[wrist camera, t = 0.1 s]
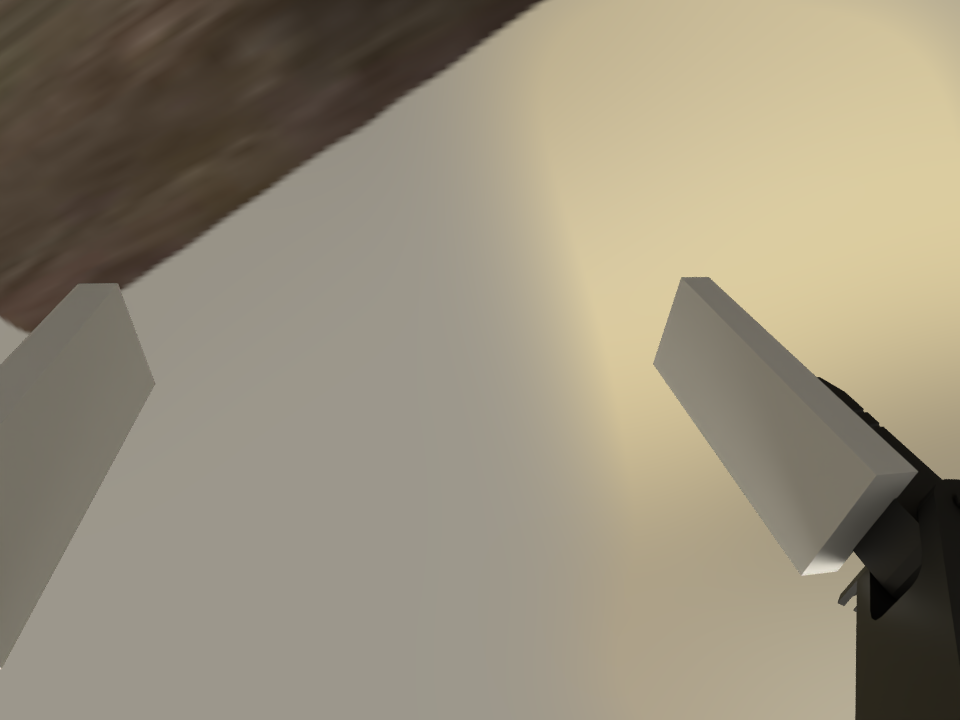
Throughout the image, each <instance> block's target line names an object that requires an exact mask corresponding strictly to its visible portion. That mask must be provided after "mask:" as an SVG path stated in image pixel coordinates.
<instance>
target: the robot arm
mask: <svg viewBox="0 0 960 720" xmlns="http://www.w3.org/2000/svg"><path fill="white" fill-rule="evenodd" d="M653 364H654V366H655V367H656V369H657V370H658V371H659V373H660V374H661V376H662V377H663V379H664V380H665V382H666V383H667V384H668V386H669V387H670V389H671V390H672V392H673V393H674V394H675V396H676V397H677V399H678V400H679V401H680V403H681V405H682V406H683V407H684V409H685V410H686V412H687V413H688V414H689V416H690V417H691V419H692V420H693V422H694V423H695V424H696V426H697V427H698V429H699V430H700V432H701V433H702V434H703V436H704V437H705V439H706V440H707V442H708V443H709V445H710V446H711V447H712V449H713V450H714V452H715V453H716V455H717V456H718V457H719V459H720V460H721V462H722V463H723V465H724V466H725V467H726V469H727V470H728V472H729V473H730V475H731V476H732V477H733V479H734V480H735V482H736V483H737V484H738V486H739V487H740V489H741V490H742V492H743V493H744V495H745V496H746V497H747V499H748V500H749V502H750V503H751V504H752V506H753V507H754V509H755V510H756V512H757V513H758V514H759V516H760V517H761V519H762V520H763V522H764V523H765V525H766V526H767V527H768V529H769V530H770V532H771V533H772V535H773V536H774V538H775V539H776V540H777V542H778V543H779V545H780V546H781V548H782V549H783V550H784V551H785V553H786V555H787V556H788V558H789V559H790V560H791V562H792V563H793V565H794V566H795V567H796V569H797V570H798V572H799V573H800V575H810V574H819V573H828V572H836V571H837V570H839V568H840V567H841V566H842V565H843V563H844V562H845V561H846V560H847V559H848V557H849V556H850V555H851V554H852V552H853V551H854V552H855V553H856V555H857V556H858V557H859V558H860V560H861V561H862V562H863V563H864V565H865V567H864V568H863V569H862V570H861V571H860V572H859V574H858V575H857V576H856V577H855V578H854V579H853V581H852V582H851V583H850V584H849V585H848V586H847V588H846V589H845V590H844V591H843V592H842V593H841V595H840V597H839V600H838V603H839V604H841V605H843V606H845V604H846V603H847V602H848V601H849V600H850V599H851V597H852V596H855V595H857V606H856V607H855V608H854V611H855V612H857V625H856V627H857V628H856V634H857V635H856V716H855V720H960V480H957V479H956V480H955V479H954V480H953V479H951V480H950V479H944V480H942V479H941V478H940V477H939V476H937V475H936V474H935V473H934V472H933V471H932V470H931V469H930V468H929V467H927V466H926V465H925V464H924V463H923V462H922V461H921V460H920V459H919V458H917V457H916V456H915V455H914V454H913V453H912V452H911V451H910V450H909V449H907V448H906V447H905V446H904V445H903V444H902V443H901V442H900V441H899V440H897V439H896V438H895V437H894V436H893V435H892V434H891V433H890V432H888V430H886V429H885V428H884V427H880V426H879V422H878V421H876V420H875V419H874V418H873V417H872V416H871V415H870V414H869V413H868V412H864V411H863V408H862V407H861V406H859V404H858V403H857V402H855V401H854V400H853V399H852V398H851V397H850V396H849V395H848V394H846V393H845V392H844V391H842V390H841V389H839V388H837V387H836V386H834V385H832V384H831V383H829V382H827V381H825V380H824V379H822V378H820V377H816V376H815V375H814V374H812V373H811V372H810V371H809V370H808V369H807V368H806V367H805V366H804V365H803V364H802V363H801V362H799V360H797V359H796V358H795V357H794V356H793V355H792V354H791V353H790V352H789V351H788V350H786V348H784V347H783V346H782V345H781V344H780V343H779V342H778V341H777V340H776V339H775V338H774V337H773V336H772V335H770V334H769V333H768V332H767V331H766V330H765V329H764V328H763V327H762V326H761V325H760V324H759V323H758V322H756V321H755V320H754V319H753V318H752V317H751V316H750V315H749V314H748V313H746V311H745V310H743V309H742V308H741V307H740V306H739V305H738V304H737V303H736V302H735V301H734V300H733V299H732V298H731V297H729V296H728V295H727V294H726V293H725V292H724V291H723V290H722V289H721V288H720V287H719V286H718V285H716V284H715V283H714V282H713V281H712V280H711V279H710V278H709V277H686V278H685V277H682V278H681V280H680V283H679V286H678V290H677V292H676V296H675V299H674V302H673V305H672V308H671V311H670V314H669V317H668V320H667V323H666V326H665V329H664V333H663V335H662V338H661V341H660V345H659V348H658V351H657V354H656V357H655V360H654V363H653ZM154 385H155V381H154V379H153V376H152V374H151V371H150V368H149V365H148V363H147V360H146V357H145V355H144V352H143V349H142V347H141V344H140V341H139V339H138V336H137V334H136V331H135V328H134V325H133V323H132V320H131V317H130V315H129V312H128V310H127V307H126V304H125V301H124V299H123V296H122V293H121V291H120V288H119V285H118V283H110V284H77V286H76V287H75V288H74V289H73V290H72V291H71V292H70V293H69V294H68V295H67V296H66V297H65V298H64V299H63V300H62V301H61V302H60V303H59V304H58V305H57V306H56V307H55V308H54V310H53V311H52V312H51V313H50V314H49V315H48V316H47V317H46V318H45V319H44V320H43V321H42V322H41V323H40V324H39V325H38V326H37V327H36V328H35V329H34V330H33V331H32V332H31V334H30V335H29V336H28V337H27V338H26V339H25V340H24V341H23V342H22V343H21V344H20V345H19V346H18V347H17V348H16V349H15V350H14V351H13V352H12V354H10V355H9V357H8V358H7V359H6V360H5V361H4V362H3V363H2V364H1V365H0V669H2V667H3V665H4V663H5V661H6V659H7V658H8V656H9V654H10V652H11V650H12V648H13V647H14V645H15V643H16V641H17V639H18V637H19V635H20V634H21V632H22V630H23V628H24V626H25V624H26V622H27V621H28V619H29V617H30V615H31V613H32V611H33V609H34V608H35V606H36V604H37V602H38V600H39V598H40V596H41V594H42V593H43V591H44V589H45V587H46V585H47V584H48V582H49V580H50V578H51V576H52V574H53V572H54V571H55V569H56V567H57V565H58V563H59V561H60V559H61V558H62V556H63V554H64V552H65V550H66V548H67V546H68V545H69V543H70V541H71V539H72V537H73V535H74V534H75V532H76V530H77V528H78V526H79V524H80V522H81V520H82V519H83V517H84V515H85V513H86V511H87V509H88V508H89V506H90V504H91V502H92V500H93V498H94V496H95V495H96V493H97V491H98V489H99V487H100V485H101V483H102V481H103V480H104V478H105V476H106V474H107V472H108V470H109V469H110V467H111V465H112V463H113V461H114V459H115V458H116V456H117V454H118V452H119V450H120V448H121V446H122V445H123V443H124V441H125V439H126V437H127V435H128V433H129V432H130V430H131V428H132V426H133V424H134V422H135V420H136V419H137V417H138V415H139V413H140V411H141V409H142V407H143V406H144V404H145V402H146V400H147V398H148V396H149V395H150V392H151V391H152V389H153V387H154Z"/></svg>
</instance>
